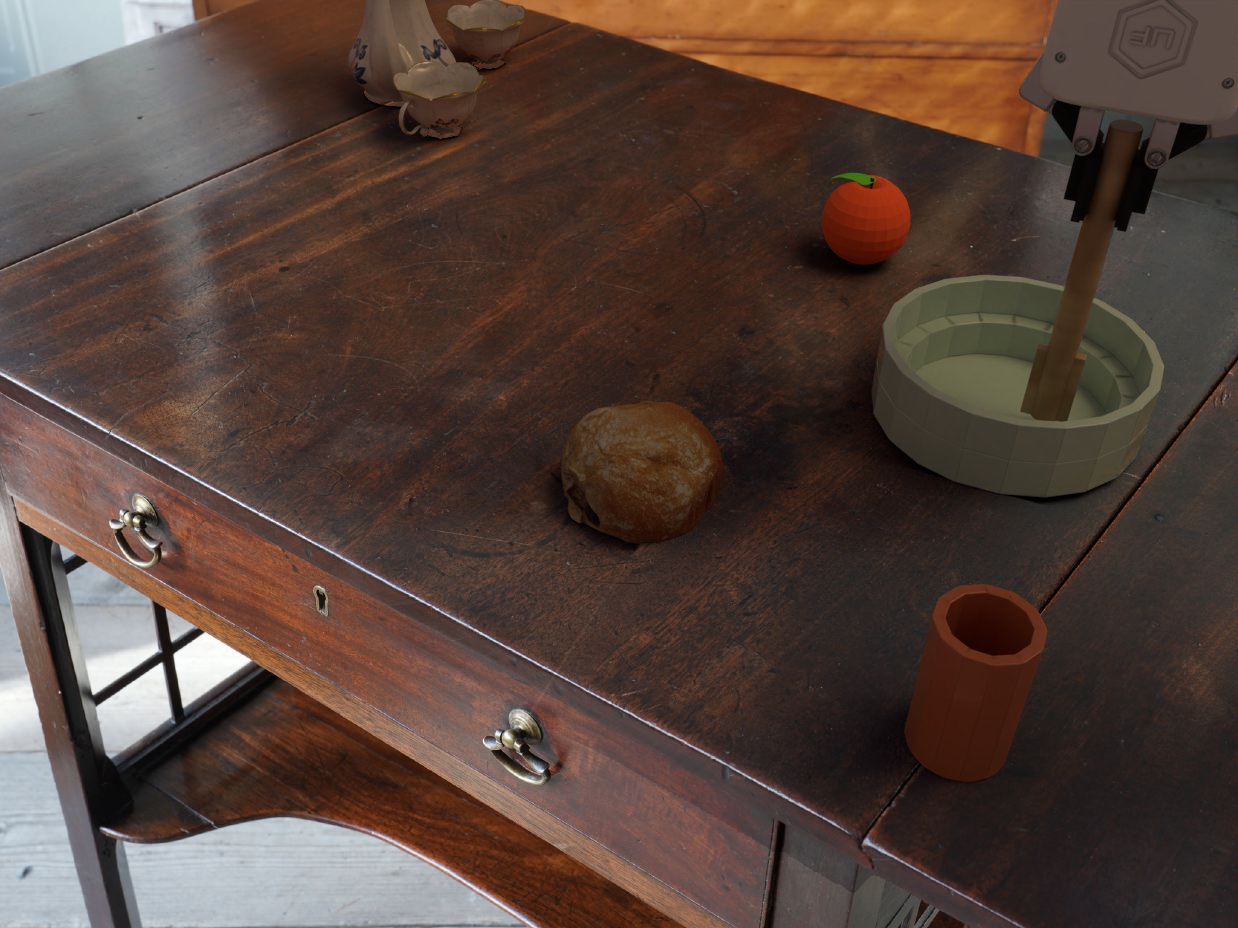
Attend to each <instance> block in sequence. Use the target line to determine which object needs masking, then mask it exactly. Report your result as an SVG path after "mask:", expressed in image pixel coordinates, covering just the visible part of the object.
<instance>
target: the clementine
mask: <svg viewBox="0 0 1238 928" xmlns="http://www.w3.org/2000/svg"><path fill="white" fill-rule="evenodd" d="M835 179H846V180H845V181H844V182H841V184H840V185H839V186H837V188H836V189H834V190H833V191H832V192H831V194H830V195H829V197H828V199H827V200H826V202H825V204H824V206H823V210H822V214H821V228H822V229H821V230H822V234H823V236H824V239H825V242H826V243H827V245H828V246H829V248H830V249H831V250H832V252H833V253H834V254H835V255H836V256H837V257H839V258H840V259H843V260H844V261H846V262H848V263H851V264H855V265H860V266H862V265H863V266H867V265H874V264H878V263H880V262H884V261H885V260H887V259H889V258H890V257H892V256H893V255H894V254H896V253H897V252H898V251H899V250H900V248H901V247H902V246H903V244H904V243H905V241H906V239H907V237H908V234H909V231H910V228H911V222H912V221H911V220H912V219H911V217H912V216H911V210H910V207H909V202H908V199H907V197H905V195H904V193H903V192H902V190H901V189H900V188H899V187H898V186H897V185H895V184H894V183H893V182H891V181H890V180H888V179H886V178H885V177H882V176H878V175H873V174H872V175H871V174H870V175H869V174H865V173H860V172H846V173H841V174H837V175H834V176H833V177H831V178H829V179H828V180H827V181H826V182H824V183H823V185H822V187H821V188H820V190H819V191H820V192H822V190H823V189H824V187H825V186H826V185H827V184H828V182H830V181H831V180H835Z"/></svg>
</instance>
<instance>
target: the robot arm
mask: <svg viewBox="0 0 1238 928" xmlns="http://www.w3.org/2000/svg"><path fill="white" fill-rule="evenodd" d="M1052 16H1053V17H1052V21H1051V23H1050V28H1049V31H1048V36H1047V40H1046V43H1045V47H1044V49H1043V51H1042V52H1041V54H1040V55H1039V57H1038V58H1037V59H1036V61H1035V63H1034V64H1033V65H1032V67H1031V68H1030V70H1028V73H1027V74H1026V75H1025V77H1024V78H1023V80H1022V82H1021V84H1020V87H1019V89H1018V94H1019V96H1020V98H1022V99H1023V100H1024V101H1026V102H1028V103H1030V104H1031V105H1033V106H1034V107H1036V108H1038V109H1040V110H1041V111H1043V112H1047V113H1048V114H1050V115H1052V118H1053V119H1054V121H1055V122H1056V123H1057V125H1058V127H1059V128H1060V129H1061V130H1062V132H1063V133H1064V135H1065V137H1066V138H1067V139H1068V141H1069V142H1070V143H1071V150H1072V152H1073V153H1074V157H1073V161H1072V164H1071V168H1070V172H1069V176H1068V180H1067V183H1066V188H1065V191H1064V195H1063V200H1066V201H1071V202H1074V206H1073V209H1072V212H1071V216H1070V222H1072V223H1078V224H1080V222H1083V221H1084V218H1085V215H1086V211H1087V208H1088V204H1089V200H1090V197H1091V193H1092V190H1093V186H1094V182H1095V179H1096V175H1097V172H1098V168H1099V164H1100V161H1101V157H1102V150H1103V146H1104V143H1105V142H1103V140H1104V137H1105V133H1104V132H1103V130H1102V129H1101V128H1102V124H1103V120H1104V117H1105V113H1106V111H1108V112H1115V113H1120V114H1127V115H1133V116H1138V117H1143V118H1144V117H1145V118H1150V119H1154V121H1153V125H1152V128H1151V132H1150V133H1149V134H1150V135H1149V137H1147V138H1145V139H1144V140H1142V141H1141V145H1140V148H1138V150H1137V154H1136V157H1135V159H1134V160H1133V163H1132V166H1131V170H1130V173H1129V177H1128V180H1127V183H1126V187H1125V190H1124V194H1123V197H1122V200H1121V204H1120V207H1119V211H1118V214H1117V217H1116V221H1115V225H1114V227H1115V228H1116V231H1119V232H1124V233H1126V232H1127V230H1128V228H1129V224H1130V220H1131V217H1132V213H1135V214H1140V215H1145V214H1146V211H1147V207H1148V205H1149V201H1150V198H1151V196H1152V192H1153V189H1154V186H1155V183H1156V179H1157V176H1158V173H1159V170H1160V169H1161V168H1163V167H1165V166H1166V164H1167V163H1168V162H1169V160H1172V159H1173V158H1175V157H1177V156H1179V155H1180V154H1182V153H1184V152H1186V151H1188V150H1189V149H1192V148H1194V147H1195V146H1197V145H1198V144H1200V143H1202V142H1203V141H1207V140H1211V141H1213V140H1214V141H1215V140H1219V139H1220V140H1221V139H1225V138H1232V137H1238V0H1057V2H1056V6H1055V10H1054V12H1053V15H1052ZM1115 228H1114V229H1115Z"/></svg>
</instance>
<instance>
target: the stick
mask: <svg viewBox="0 0 1238 928" xmlns="http://www.w3.org/2000/svg"><path fill="white" fill-rule="evenodd" d="M1143 133H1144V126H1143V125H1142V124H1140V123H1138V122H1136V121H1134V120H1129V119H1114V120H1112V121H1110V123H1109V125H1108V128H1107V132H1106V136H1105V139H1104V142H1103V143H1104V146H1103V150H1102V157H1101V161H1100V164H1099V168H1098V172H1097V175H1096V179H1095V182H1094V186H1093V190H1092V193H1091V197H1090V200H1089V204H1088V208H1087V211H1086V215H1085V218H1084V221H1081V226H1080V229H1079V233H1078V237H1077V240H1076V244H1075V247H1074V252H1073V253H1072V254H1073V255H1072V258H1071V262H1070V266H1069V270H1068V273H1067V276H1066V280H1065V283H1064V286H1065V287H1064V291H1063V294H1062V298H1061V301H1060V305H1059V309H1058V312H1057V316H1056V319H1055V323H1054V327H1053V330H1052V334H1051V338H1050V341H1049V345H1048V346H1047V345H1043V344H1038V347H1037V351H1036V354H1035V358H1034V362H1033V365H1032V369H1031V373H1030V376H1029V380H1028V384H1027V388H1026V391H1025V395H1024V399H1023V402H1022V406H1021V410H1020V412H1023V413H1027V414H1031V416H1032V417H1033V418H1034V419H1036V420H1044V421H1059V422H1063V421H1068V418H1069V414H1070V411H1071V408H1072V404H1073V401H1074V398H1075V394H1076V391H1077V388H1078V385H1079V381H1080V378H1081V375H1082V371H1083V368H1084V365H1085V361H1086V358H1087V355H1086V354H1082V353H1078V349H1079V346H1080V343H1081V339H1082V336H1083V332H1084V329H1085V326H1086V322H1087V319H1088V316H1089V312H1090V309H1091V305H1092V302H1093V299H1094V298H1095V296H1096V292H1097V289H1098V285H1099V281H1100V278H1101V274H1102V272H1103V268H1104V266H1105V263H1106V262H1105V261H1106V258H1107V254H1108V251H1109V248H1110V245H1111V240H1112V237H1113V234H1114V231H1115V227H1114V225H1115V221H1116V217H1117V214H1118V211H1119V207H1120V204H1121V200H1122V197H1123V194H1124V190H1125V187H1126V183H1127V180H1128V177H1129V173H1130V170H1131V166H1132V163H1133V160H1134V159H1135V157H1136V154H1137V150H1138V149H1139V147H1140V143H1141V140H1142V137H1143Z"/></svg>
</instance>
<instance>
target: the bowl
mask: <svg viewBox="0 0 1238 928" xmlns="http://www.w3.org/2000/svg"><path fill="white" fill-rule="evenodd" d="M1064 287H1065V285H1061V284H1056V283H1051V282H1047V281H1042V280H1037V279H1033V278H1030V277H1029V278H1028V277H1023V276H1011V275H1010V276H1009V275H996V274H977V275H969V276H958V277H950V278H944V279H940V280H938V281H935V282H931V283H928V284H926V285H921V286H919V287H916V288H914V289H913V290H911V291H910V292H909V293H907V294H906V295H904V296H903V297H901V298H900V299H899V300H897V301H896V302H895V303H893V304H892V305H891V308H890V310H889V312H888V314H887V315H886V317H885V319H884V321H883V323H882V327H881V333H880V340H879V345H878V350H877V356H876V361H875V368H874V374H873V380H872V385H871V399H872V400H871V401H872V402H871V403H872V411H873V413H872V414H873V416H874V417H875V419H876V420H877V422H878V424H879V426H880V427H881V429H882V430H883V432H884V434H885V435H886V437H887V439H888V440H889V441H890V442H891V443H892V444H894V445H895V446H896V447H897V448H898V449H899V450H900V451H902V452H903V453H904V454H906V456H908V457H909V458H910V459H912V461H914V462H915V463H916V464H918V465H920V466H921V467H923V468H925V469H928V470H930V471H932V472H934V473H935V474H937V475H939V476H942V477H944V478H946V479H948V480H950V481H951V482H955V483H958V484H962V485H965V486H968V487H973V488H976V489H980V490H984V491H988V492H991V493H995V494H1000V495H1007V496H1009V495H1010V496H1023V497H1033V498H1034V497H1035V498H1036V497H1037V498H1051V497H1058V496H1066V495H1073V494H1079V493H1086V492H1088V491H1091V490H1093V489H1095V488H1097V487H1099V486H1101V485H1104V484H1106V483H1109V482H1111V481H1113V480H1115V479H1116V478H1119V476H1121V475H1122V473H1123V472H1124V471H1125V470H1126V469H1127V468H1128V467H1129V466H1130V465H1131V464H1132V462H1133V461H1135V459H1136V458H1137V456H1138V454H1139V452H1140V448H1141V445H1142V443H1143V440H1144V437H1145V434H1146V431H1147V428H1148V426H1149V423H1150V420H1151V417H1152V414H1153V411H1154V409H1155V406H1156V403H1157V400H1158V398H1159V395H1160V392H1161V388H1162V383H1163V378H1164V372H1165V364H1164V362H1163V359H1162V357H1161V355H1160V353H1159V350H1158V347H1157V344H1156V343H1155V341H1154V340H1153V339H1152V338H1151V337H1150V336H1149V335H1148V334H1147V333H1146V332H1145V331H1144V330H1143V329H1142V328H1141V327H1140V326H1139V324H1138V323H1137V322H1135V320H1133V318H1131V317H1129V316H1127V315H1126V314H1124V313H1122V312H1121V311H1120V310H1118V309H1116V308H1114V307H1113V306H1111V305H1110V304H1108V303H1106V302H1105V301H1103V300H1100V299H1098V298H1096V297H1094V299H1093V302H1092V305H1091V309H1090V312H1089V316H1088V319H1087V322H1086V326H1085V329H1084V332H1083V336H1082V339H1081V343H1080V346H1079V349H1078V353H1082V354H1086V355H1087V358H1086V361H1085V365H1084V368H1083V371H1082V375H1081V378H1080V381H1079V385H1078V388H1077V391H1076V394H1075V398H1074V401H1073V404H1072V408H1071V411H1070V414H1069V418H1068V421H1063V422H1059V421H1044V420H1036V419H1034V418H1033V417H1032V416H1031V414H1027V413H1023V412H1020V410H1021V406H1022V402H1023V399H1024V395H1025V391H1026V388H1027V384H1028V380H1029V376H1030V373H1031V369H1032V365H1033V362H1034V358H1035V354H1036V351H1037V347H1038V344H1043V345H1047V346H1048V345H1049V341H1050V338H1051V334H1052V330H1053V327H1054V323H1055V319H1056V316H1057V312H1058V309H1059V305H1060V301H1061V298H1062V294H1063V291H1064Z"/></svg>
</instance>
